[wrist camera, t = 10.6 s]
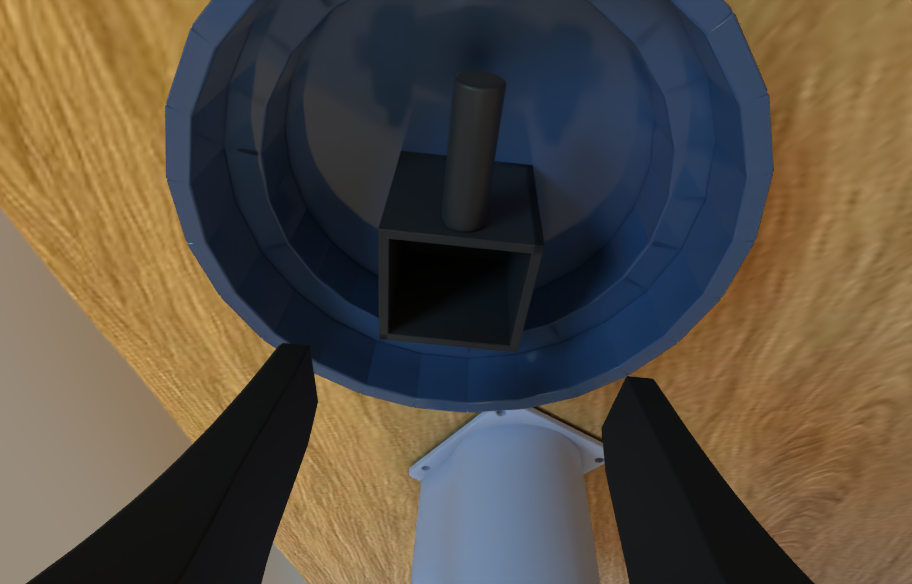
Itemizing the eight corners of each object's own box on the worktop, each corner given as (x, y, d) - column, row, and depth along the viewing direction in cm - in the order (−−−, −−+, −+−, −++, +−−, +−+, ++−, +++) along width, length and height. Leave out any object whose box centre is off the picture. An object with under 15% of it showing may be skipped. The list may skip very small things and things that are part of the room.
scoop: (512, 264, 20) (517, 353, 16) (398, 252, 19) (378, 339, 16) (559, 41, 14) (582, 102, 11) (403, 23, 14) (376, 79, 11)
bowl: (501, 364, 24) (503, 458, 20) (182, 196, 19) (106, 282, 15) (807, 112, 16) (907, 193, 12) (388, -320, 10) (332, -414, 7)
